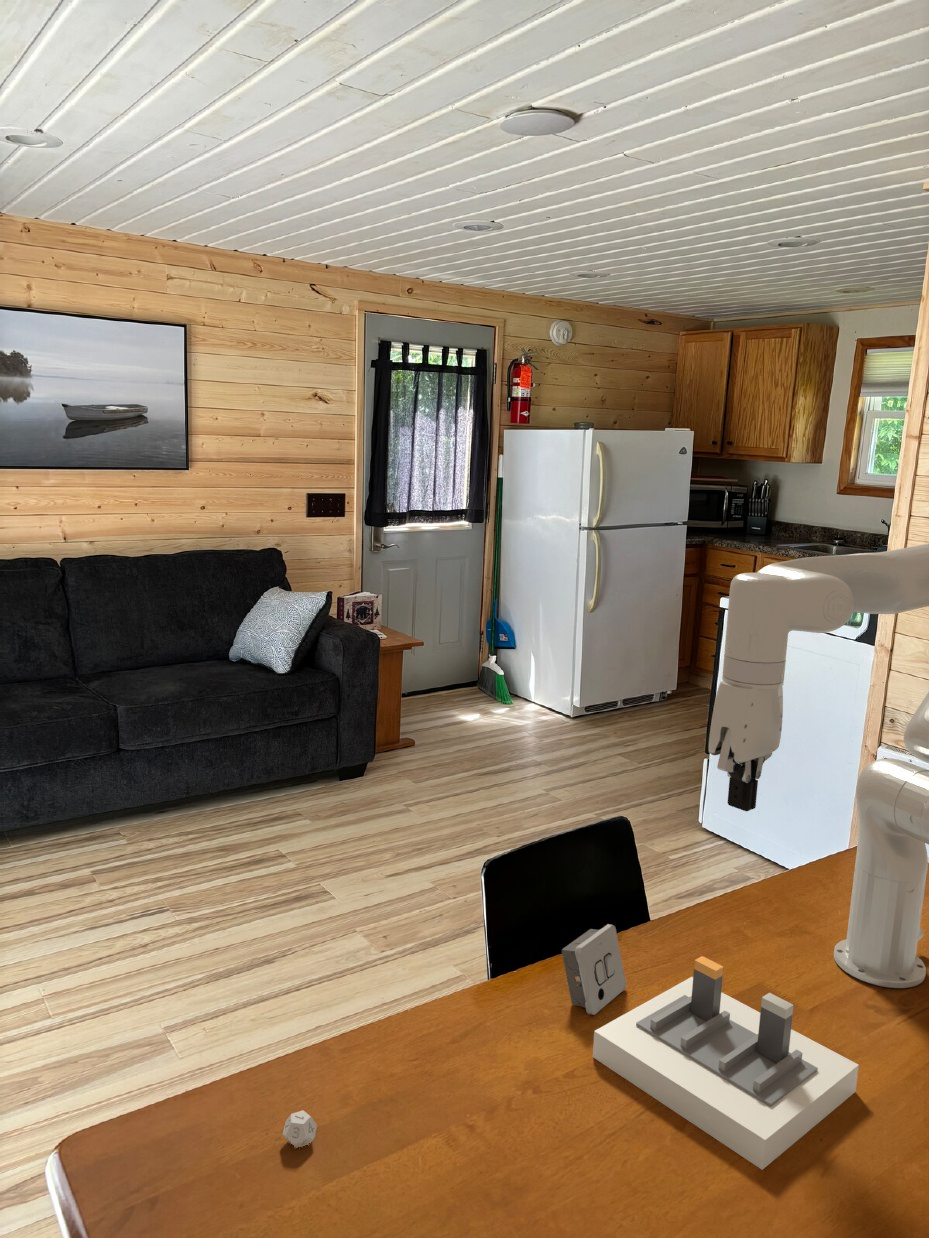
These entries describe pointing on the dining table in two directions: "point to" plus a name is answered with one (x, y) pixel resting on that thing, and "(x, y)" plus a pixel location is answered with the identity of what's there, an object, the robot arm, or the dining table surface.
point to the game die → (299, 1128)
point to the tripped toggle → (706, 988)
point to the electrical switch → (594, 969)
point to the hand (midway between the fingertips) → (741, 806)
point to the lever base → (729, 1069)
